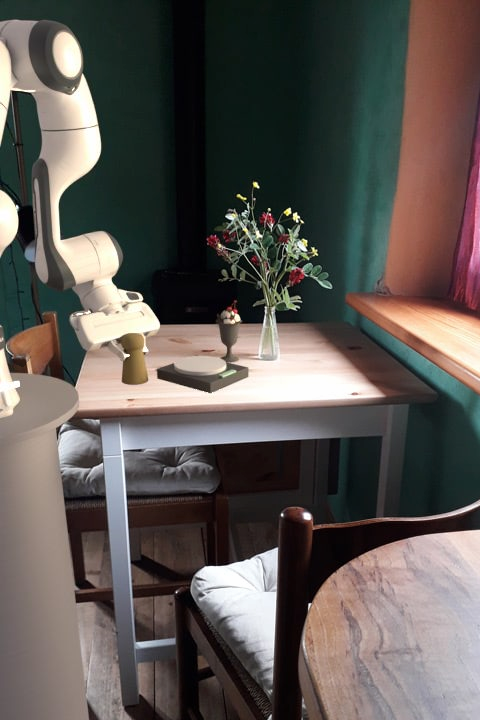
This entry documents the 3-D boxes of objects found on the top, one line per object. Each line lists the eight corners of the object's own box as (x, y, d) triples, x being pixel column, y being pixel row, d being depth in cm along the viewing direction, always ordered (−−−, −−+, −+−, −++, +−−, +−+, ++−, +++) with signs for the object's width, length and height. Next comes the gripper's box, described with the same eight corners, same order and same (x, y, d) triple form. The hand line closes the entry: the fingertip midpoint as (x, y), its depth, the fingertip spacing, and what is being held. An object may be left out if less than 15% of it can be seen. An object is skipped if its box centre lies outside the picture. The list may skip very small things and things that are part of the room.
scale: (210, 393, 134) (210, 378, 133) (157, 378, 143) (156, 364, 141) (248, 377, 145) (248, 363, 144) (196, 364, 153) (196, 350, 152)
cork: (145, 385, 138) (143, 337, 134) (118, 384, 138) (115, 337, 134) (150, 376, 144) (148, 330, 140) (124, 375, 144) (121, 330, 140)
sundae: (246, 357, 159) (246, 299, 154) (236, 364, 153) (236, 305, 148) (222, 354, 161) (222, 297, 156) (212, 361, 155) (211, 302, 150)
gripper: (70, 305, 131) (102, 359, 129) (145, 292, 146) (175, 339, 144) (61, 322, 136) (91, 374, 133) (134, 307, 150) (163, 354, 148)
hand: (135, 356), depth 139 cm, fingers closed on cork, 4 cm apart
